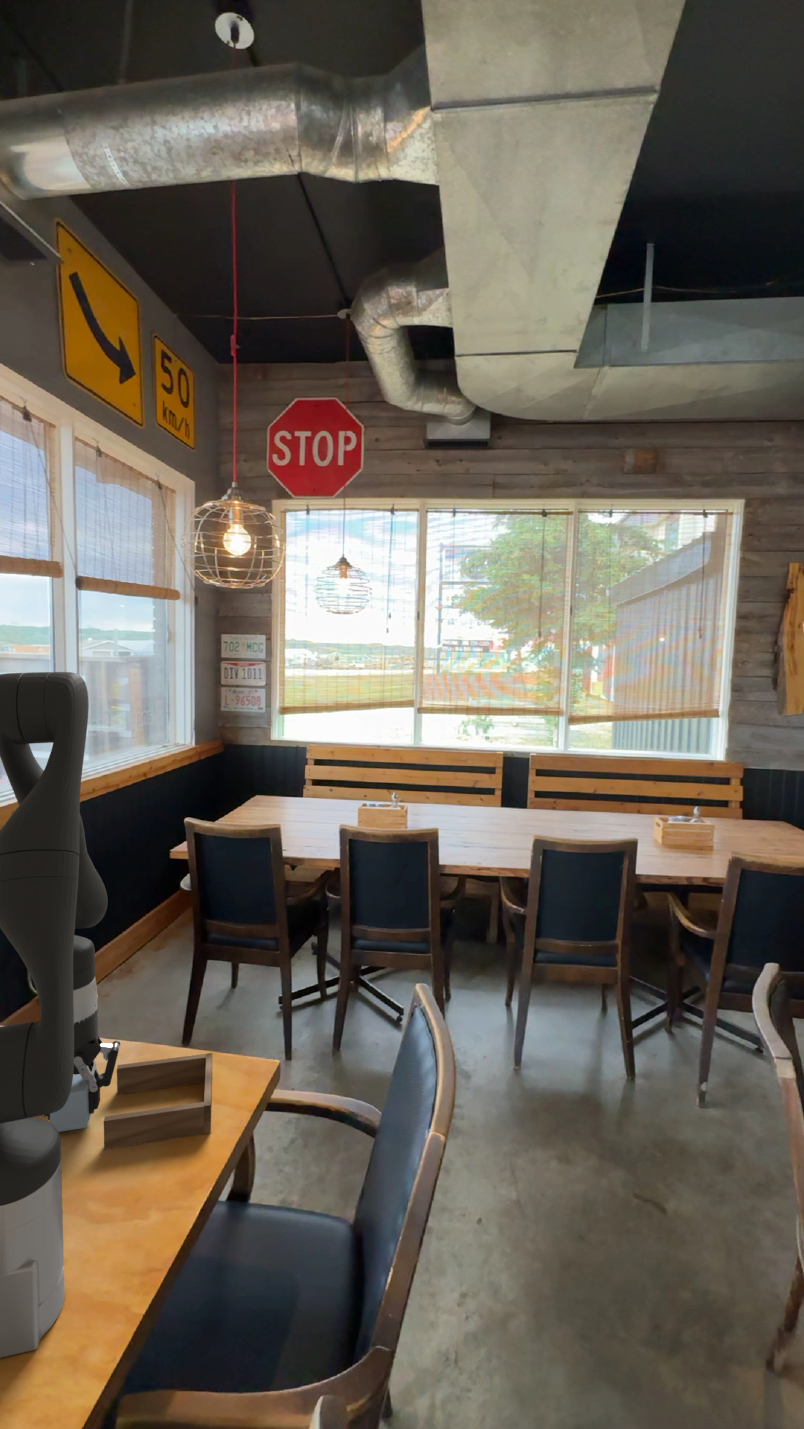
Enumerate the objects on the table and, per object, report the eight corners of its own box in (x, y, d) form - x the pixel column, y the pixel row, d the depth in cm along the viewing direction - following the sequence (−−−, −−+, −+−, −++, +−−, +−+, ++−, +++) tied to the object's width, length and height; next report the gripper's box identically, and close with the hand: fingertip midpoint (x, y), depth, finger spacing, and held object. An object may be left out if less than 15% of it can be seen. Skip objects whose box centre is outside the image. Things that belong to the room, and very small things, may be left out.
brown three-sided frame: (210, 1132, 99) (210, 1105, 99) (104, 1149, 95) (103, 1121, 95) (212, 1077, 112) (212, 1052, 111) (118, 1090, 108) (117, 1065, 107)
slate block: (87, 1127, 98) (86, 1090, 98) (50, 1132, 97) (49, 1095, 96) (93, 1104, 103) (92, 1069, 102) (58, 1109, 102) (57, 1073, 101)
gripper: (8, 1028, 93) (12, 1139, 94) (117, 1016, 96) (119, 1123, 98) (24, 1000, 100) (27, 1103, 102) (125, 990, 103) (126, 1089, 105)
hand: (72, 1112), depth 100 cm, fingers closed on slate block, 5 cm apart
